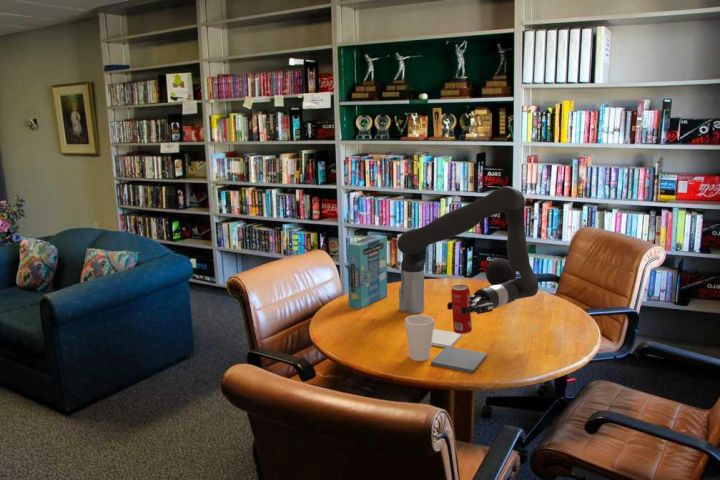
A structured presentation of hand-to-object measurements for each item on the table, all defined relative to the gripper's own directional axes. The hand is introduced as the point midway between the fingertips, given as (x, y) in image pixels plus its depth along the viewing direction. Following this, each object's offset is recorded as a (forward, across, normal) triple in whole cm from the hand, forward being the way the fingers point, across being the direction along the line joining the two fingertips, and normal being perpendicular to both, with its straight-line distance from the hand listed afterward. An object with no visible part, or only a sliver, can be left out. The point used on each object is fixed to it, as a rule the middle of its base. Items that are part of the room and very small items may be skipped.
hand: (455, 308), depth 185 cm
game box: (-16, -66, +18) cm, 71 cm away
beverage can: (-3, 0, +8) cm, 9 cm away
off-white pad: (-10, -17, +18) cm, 27 cm away
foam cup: (+6, -10, +18) cm, 22 cm away
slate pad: (-2, 0, +18) cm, 18 cm away
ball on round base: (-70, -40, +19) cm, 83 cm away
